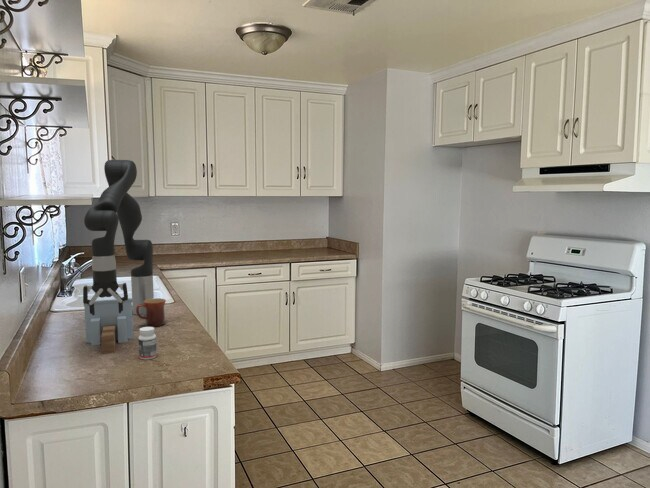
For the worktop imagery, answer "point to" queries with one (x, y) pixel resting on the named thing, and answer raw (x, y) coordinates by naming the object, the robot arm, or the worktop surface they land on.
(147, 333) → the pill bottle
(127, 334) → the grey two-legged bench
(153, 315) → the mug
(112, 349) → the bed rail
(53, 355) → the worktop surface
